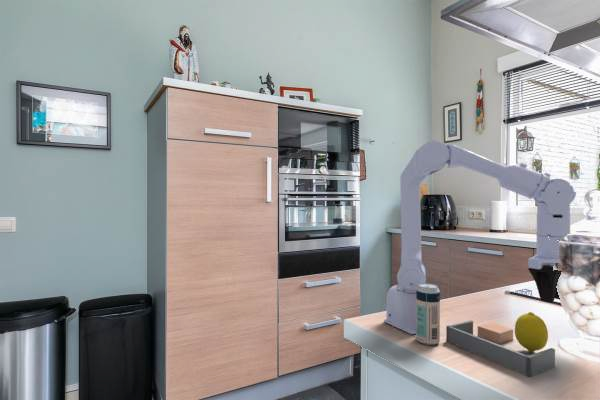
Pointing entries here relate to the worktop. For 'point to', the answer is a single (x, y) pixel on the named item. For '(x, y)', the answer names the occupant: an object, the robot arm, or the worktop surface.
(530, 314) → the lemon
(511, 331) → the tile
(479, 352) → the fence
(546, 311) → the worktop surface
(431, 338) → the beer can
